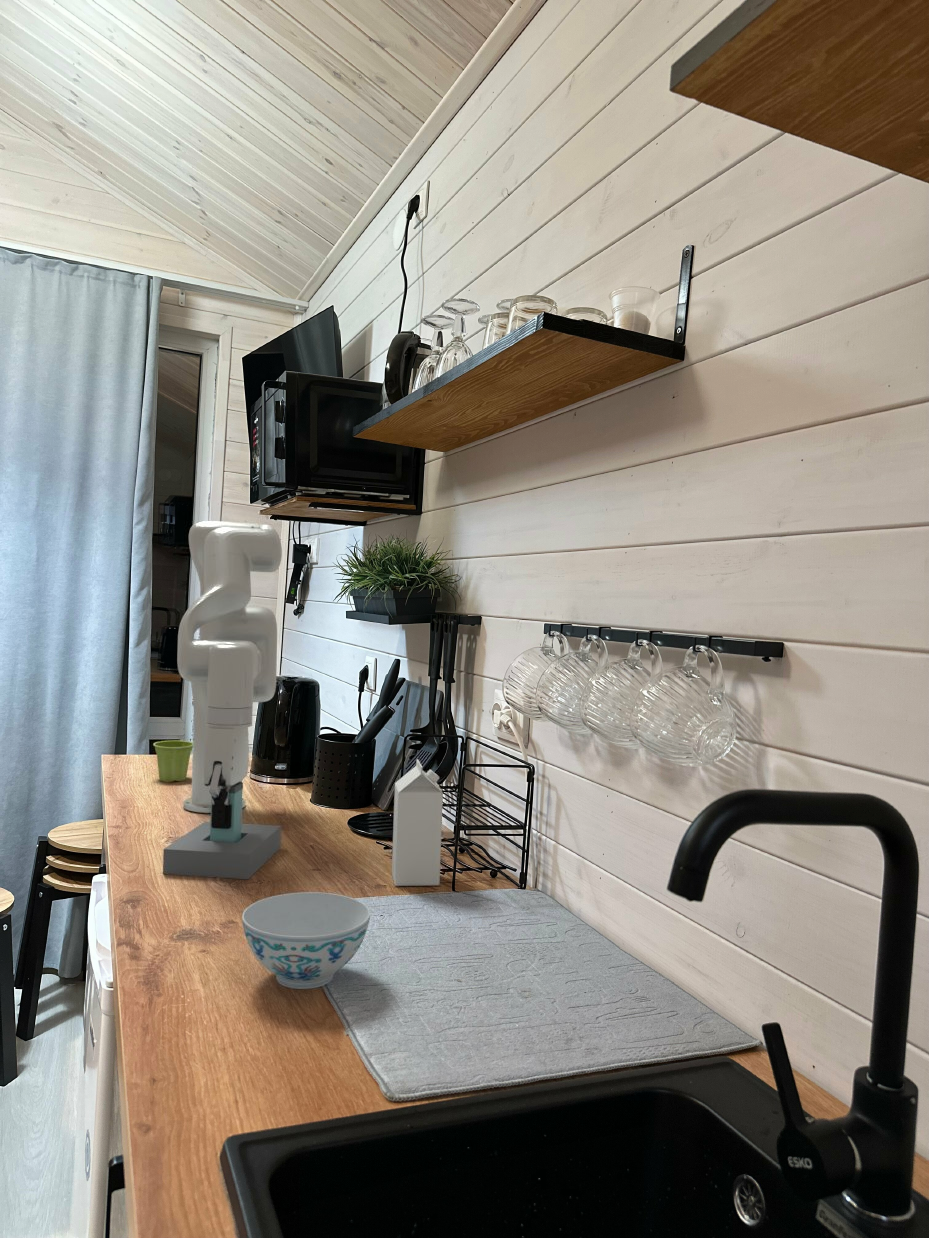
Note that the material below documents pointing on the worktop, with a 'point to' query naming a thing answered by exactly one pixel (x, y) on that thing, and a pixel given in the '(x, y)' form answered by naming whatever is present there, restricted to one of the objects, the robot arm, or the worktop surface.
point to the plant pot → (173, 759)
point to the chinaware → (305, 935)
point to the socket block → (222, 852)
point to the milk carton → (417, 829)
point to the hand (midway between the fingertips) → (226, 823)
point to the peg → (236, 817)
